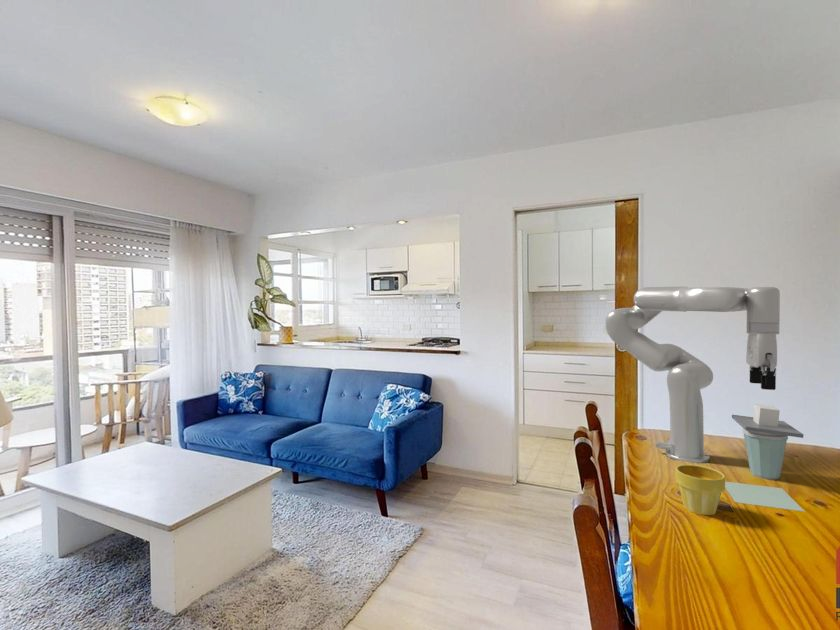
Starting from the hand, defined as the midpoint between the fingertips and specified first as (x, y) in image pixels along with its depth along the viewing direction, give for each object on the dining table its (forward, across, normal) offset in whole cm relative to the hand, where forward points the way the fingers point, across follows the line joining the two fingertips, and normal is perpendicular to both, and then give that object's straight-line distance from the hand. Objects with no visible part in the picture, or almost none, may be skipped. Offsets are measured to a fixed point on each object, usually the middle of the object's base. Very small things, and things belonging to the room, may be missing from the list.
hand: (762, 386), depth 123 cm
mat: (+27, +16, -5) cm, 32 cm away
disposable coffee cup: (+27, 0, +1) cm, 27 cm away
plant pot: (+27, +30, -21) cm, 46 cm away
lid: (+12, 0, +1) cm, 12 cm away
